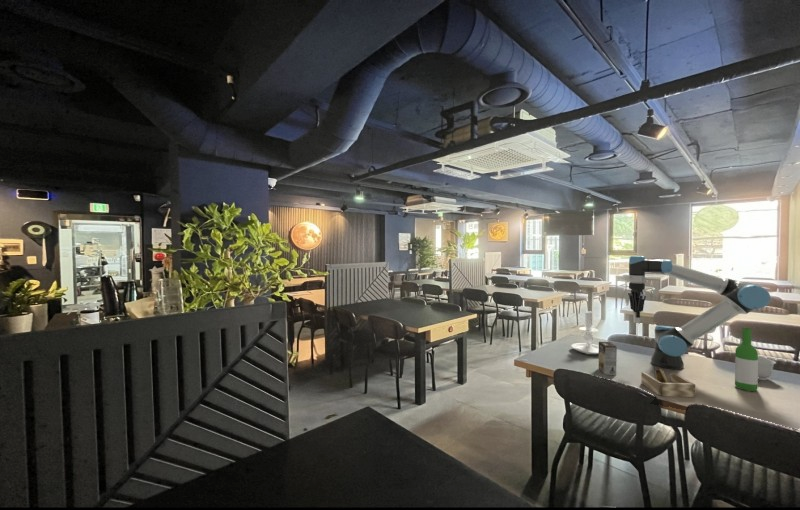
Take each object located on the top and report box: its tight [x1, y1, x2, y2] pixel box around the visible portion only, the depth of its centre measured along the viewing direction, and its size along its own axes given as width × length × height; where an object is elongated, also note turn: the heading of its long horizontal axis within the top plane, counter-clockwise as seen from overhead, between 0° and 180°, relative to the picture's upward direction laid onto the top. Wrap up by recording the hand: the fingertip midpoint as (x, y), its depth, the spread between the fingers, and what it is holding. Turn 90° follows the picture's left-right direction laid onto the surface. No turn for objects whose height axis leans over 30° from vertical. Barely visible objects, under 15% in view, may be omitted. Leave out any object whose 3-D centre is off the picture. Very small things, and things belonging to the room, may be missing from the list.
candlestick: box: [570, 310, 599, 355], centre depth 217 cm, size 21×25×28 cm
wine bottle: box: [734, 327, 759, 392], centre depth 162 cm, size 8×8×30 cm
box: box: [640, 371, 696, 398], centre depth 162 cm, size 15×14×6 cm
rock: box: [654, 368, 670, 383], centre depth 165 cm, size 11×9×10 cm
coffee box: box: [598, 341, 618, 376], centre depth 186 cm, size 9×6×16 cm
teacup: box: [758, 355, 777, 381], centre depth 175 cm, size 12×15×10 cm
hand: (636, 322), depth 191 cm, fingers closed
